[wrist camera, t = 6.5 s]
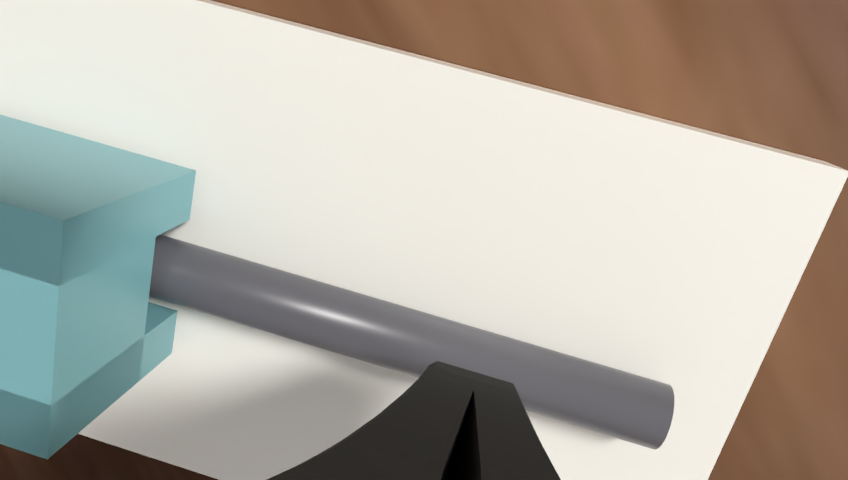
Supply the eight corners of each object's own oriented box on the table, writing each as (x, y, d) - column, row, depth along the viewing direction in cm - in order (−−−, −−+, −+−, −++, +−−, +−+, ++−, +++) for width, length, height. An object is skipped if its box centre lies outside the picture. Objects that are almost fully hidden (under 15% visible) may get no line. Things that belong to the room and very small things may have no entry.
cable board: (637, 581, 15) (670, 763, 11) (-282, 286, 17) (-516, 356, 13) (824, 160, 12) (959, 217, 8) (-331, -142, 14) (-657, -211, 10)
